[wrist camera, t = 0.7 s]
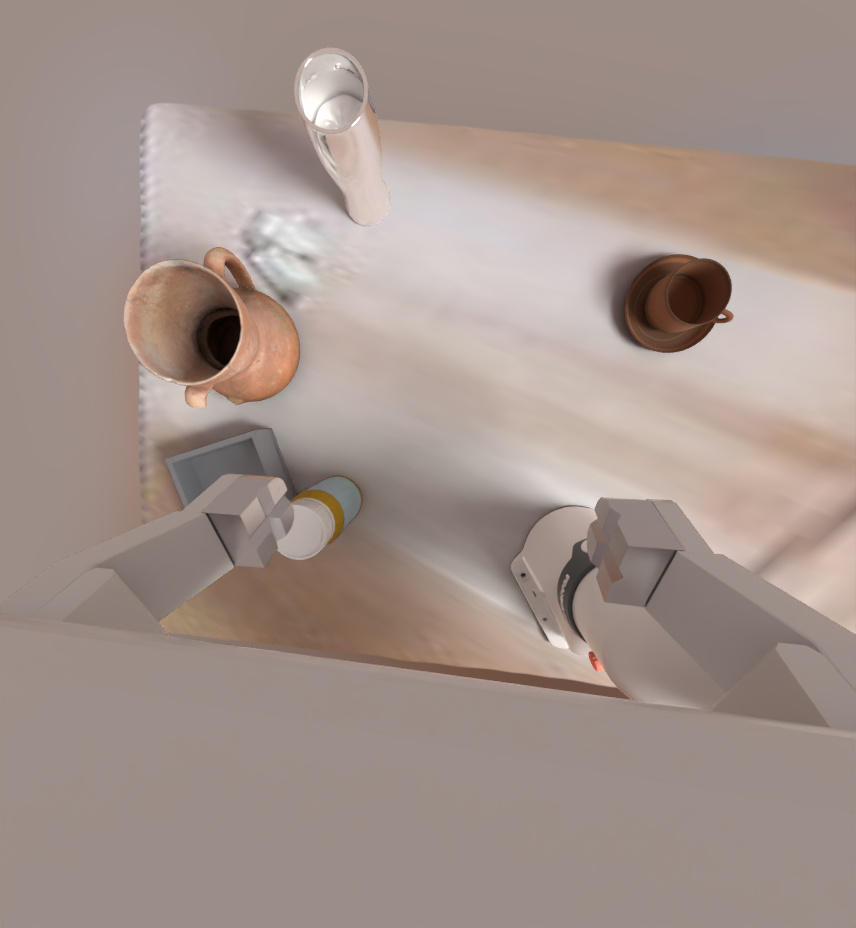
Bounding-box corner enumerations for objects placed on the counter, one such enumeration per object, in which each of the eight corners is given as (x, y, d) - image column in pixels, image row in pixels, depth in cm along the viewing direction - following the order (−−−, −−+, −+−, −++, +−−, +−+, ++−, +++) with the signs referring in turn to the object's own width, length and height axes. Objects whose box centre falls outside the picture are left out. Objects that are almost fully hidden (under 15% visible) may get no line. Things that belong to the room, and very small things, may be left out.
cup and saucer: (718, 265, 43) (764, 240, 37) (699, 359, 45) (739, 350, 39) (626, 257, 44) (657, 232, 38) (611, 351, 45) (637, 341, 39)
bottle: (365, 518, 50) (334, 561, 35) (320, 522, 50) (270, 566, 35) (360, 473, 49) (325, 498, 34) (314, 477, 49) (259, 503, 34)
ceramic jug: (294, 422, 48) (235, 424, 34) (199, 395, 48) (101, 387, 34) (321, 296, 46) (268, 242, 32) (220, 268, 46) (122, 202, 32)
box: (303, 514, 50) (290, 523, 46) (222, 538, 51) (202, 550, 47) (272, 428, 48) (255, 429, 44) (188, 455, 49) (164, 459, 45)
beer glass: (387, 166, 43) (360, 34, 28) (398, 223, 44) (377, 125, 29) (336, 179, 43) (282, 55, 29) (348, 235, 44) (302, 144, 29)
